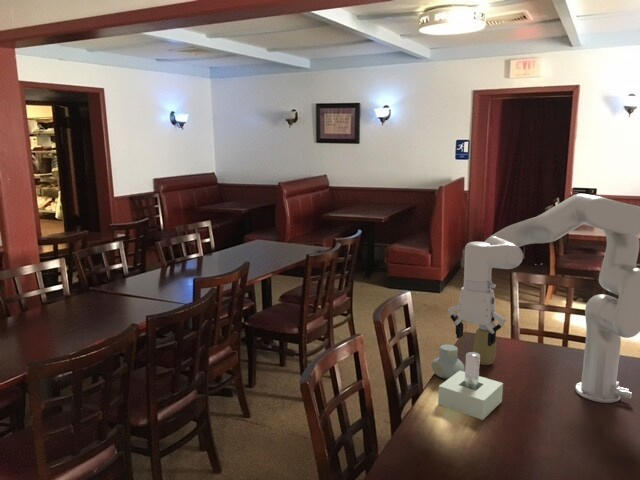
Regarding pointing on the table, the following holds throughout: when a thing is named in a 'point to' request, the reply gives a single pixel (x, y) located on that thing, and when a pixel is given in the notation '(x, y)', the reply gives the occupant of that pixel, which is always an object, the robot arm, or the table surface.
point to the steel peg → (472, 370)
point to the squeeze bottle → (484, 346)
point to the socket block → (470, 395)
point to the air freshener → (447, 362)
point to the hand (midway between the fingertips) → (475, 340)
